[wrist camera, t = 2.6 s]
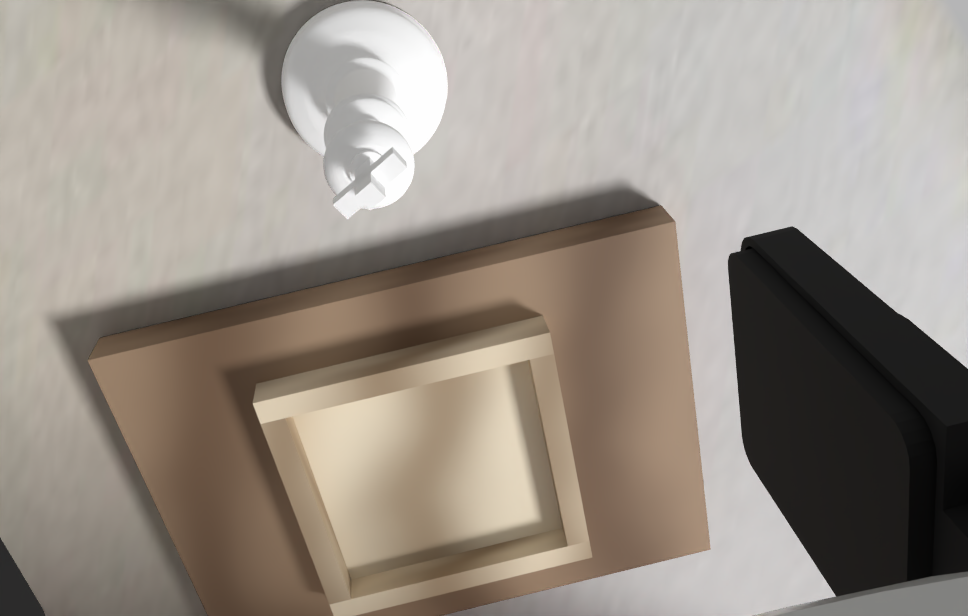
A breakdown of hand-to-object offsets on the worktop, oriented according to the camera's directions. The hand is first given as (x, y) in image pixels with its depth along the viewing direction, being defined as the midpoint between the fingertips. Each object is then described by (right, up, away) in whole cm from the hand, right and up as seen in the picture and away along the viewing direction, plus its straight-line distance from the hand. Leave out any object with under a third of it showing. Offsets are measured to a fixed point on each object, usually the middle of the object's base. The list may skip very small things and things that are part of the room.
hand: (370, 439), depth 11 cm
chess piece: (-2, +8, +17) cm, 19 cm away
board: (-1, -3, +22) cm, 23 cm away
